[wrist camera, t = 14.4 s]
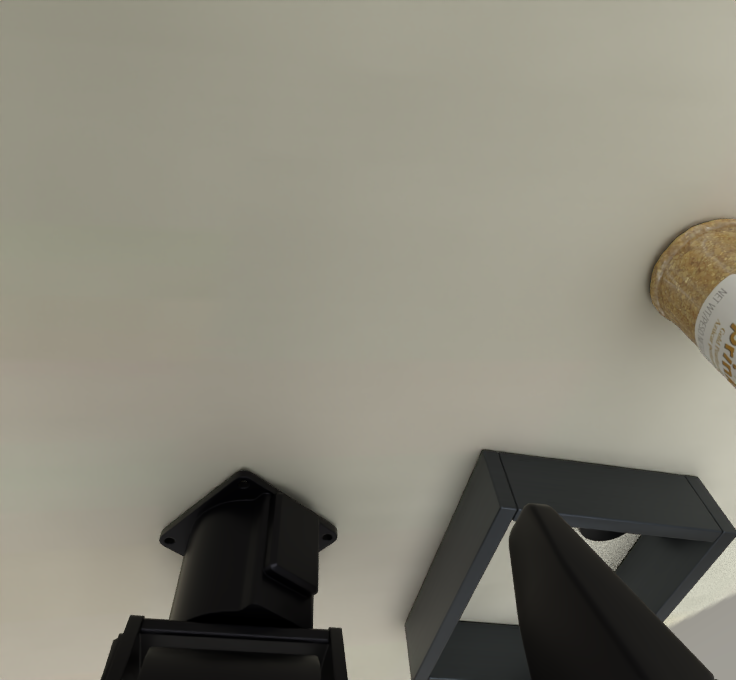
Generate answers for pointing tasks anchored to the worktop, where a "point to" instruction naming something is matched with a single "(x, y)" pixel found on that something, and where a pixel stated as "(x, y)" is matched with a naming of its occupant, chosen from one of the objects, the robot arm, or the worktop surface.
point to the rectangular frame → (580, 510)
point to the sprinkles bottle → (702, 290)
